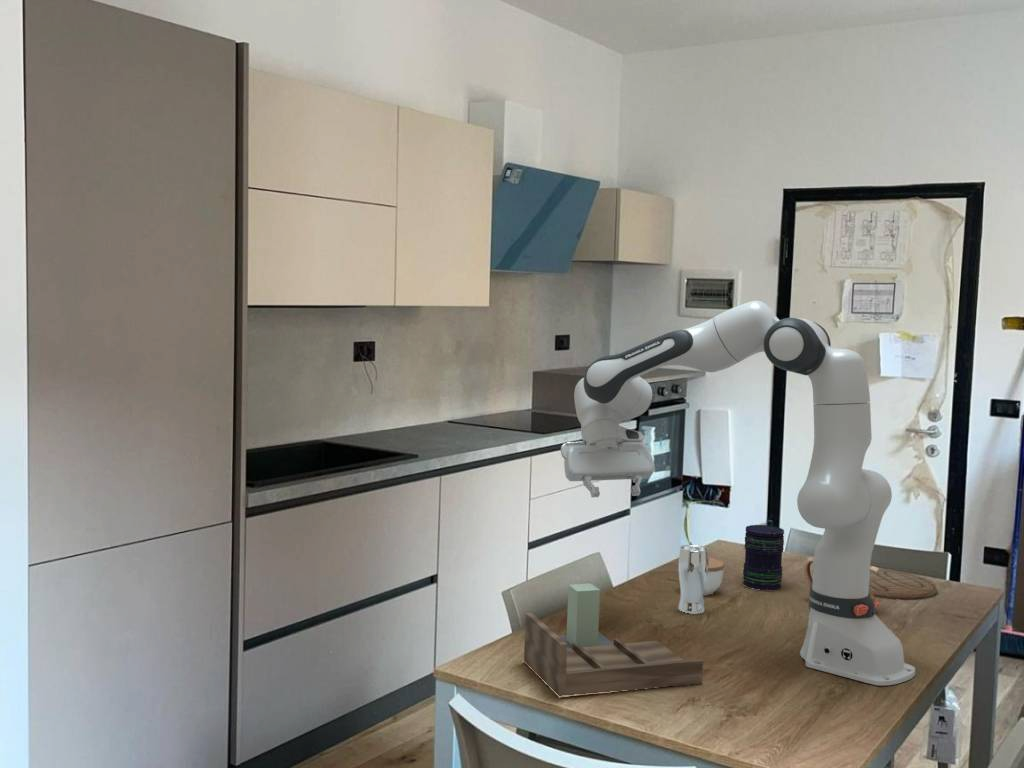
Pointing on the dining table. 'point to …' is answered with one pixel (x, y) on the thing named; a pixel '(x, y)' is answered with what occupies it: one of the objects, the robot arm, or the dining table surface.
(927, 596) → the trivet
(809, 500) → the robot arm
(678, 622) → the dining table surface
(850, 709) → the dining table surface
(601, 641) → the mat
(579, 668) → the lane shelf
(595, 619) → the block
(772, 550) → the storage jar
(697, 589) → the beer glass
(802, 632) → the dining table surface
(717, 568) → the lidded jar
